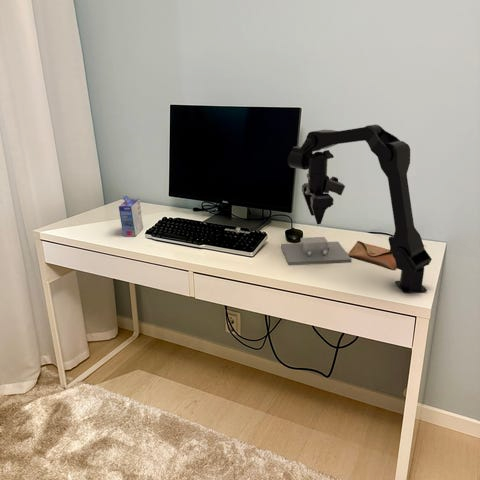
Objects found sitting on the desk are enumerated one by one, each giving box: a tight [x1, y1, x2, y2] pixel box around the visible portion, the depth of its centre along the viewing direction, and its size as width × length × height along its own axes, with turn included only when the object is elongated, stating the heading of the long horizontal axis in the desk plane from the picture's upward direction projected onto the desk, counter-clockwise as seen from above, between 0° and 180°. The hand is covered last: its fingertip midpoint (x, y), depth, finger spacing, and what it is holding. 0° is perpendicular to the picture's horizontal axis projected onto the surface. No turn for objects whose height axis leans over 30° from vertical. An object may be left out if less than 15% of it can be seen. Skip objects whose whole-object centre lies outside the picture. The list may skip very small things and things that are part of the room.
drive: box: [300, 236, 329, 255], centre depth 144 cm, size 5×8×4 cm, turn 93°
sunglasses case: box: [347, 240, 398, 271], centre depth 140 cm, size 18×7×7 cm, turn 46°
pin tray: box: [280, 241, 352, 266], centre depth 145 cm, size 16×20×2 cm
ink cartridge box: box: [118, 194, 144, 238], centre depth 168 cm, size 10×6×14 cm, turn 174°
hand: (315, 219), depth 141 cm, fingers open, 9 cm apart
